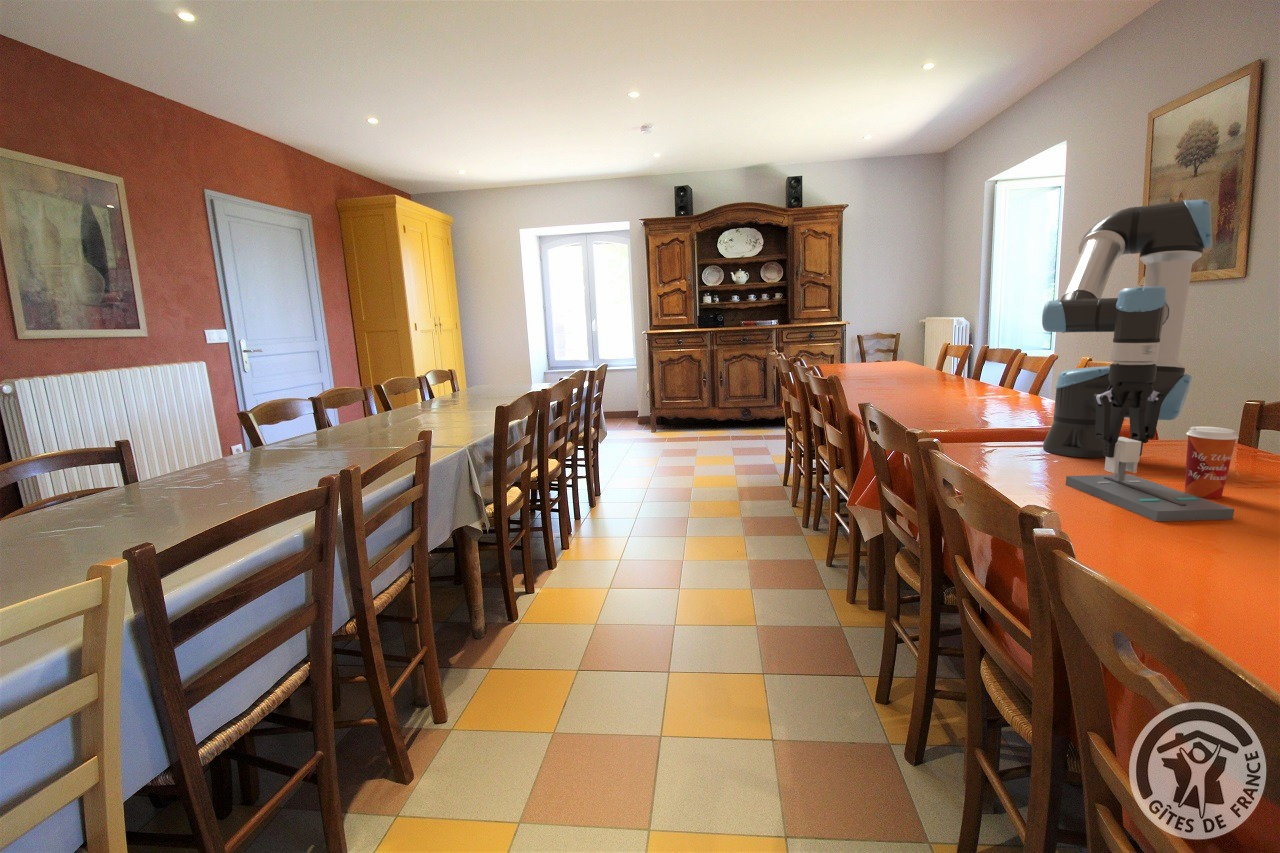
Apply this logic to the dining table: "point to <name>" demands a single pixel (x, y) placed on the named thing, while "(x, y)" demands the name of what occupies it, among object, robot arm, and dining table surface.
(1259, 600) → the dining table surface
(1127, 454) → the fader
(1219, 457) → the paper cup
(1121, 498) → the console board
